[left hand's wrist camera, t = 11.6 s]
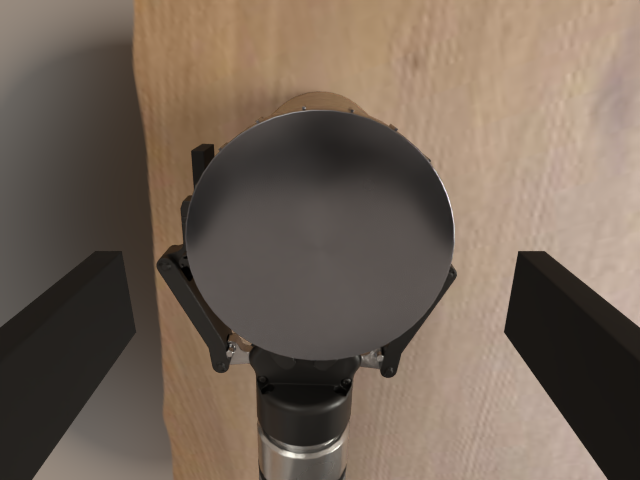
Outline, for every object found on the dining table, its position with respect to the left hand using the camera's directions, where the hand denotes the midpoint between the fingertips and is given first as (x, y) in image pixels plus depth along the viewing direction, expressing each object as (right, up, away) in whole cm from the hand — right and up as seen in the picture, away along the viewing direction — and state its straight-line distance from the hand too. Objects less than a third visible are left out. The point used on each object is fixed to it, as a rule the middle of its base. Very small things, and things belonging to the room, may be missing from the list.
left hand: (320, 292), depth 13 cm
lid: (0, +1, +4) cm, 4 cm away
